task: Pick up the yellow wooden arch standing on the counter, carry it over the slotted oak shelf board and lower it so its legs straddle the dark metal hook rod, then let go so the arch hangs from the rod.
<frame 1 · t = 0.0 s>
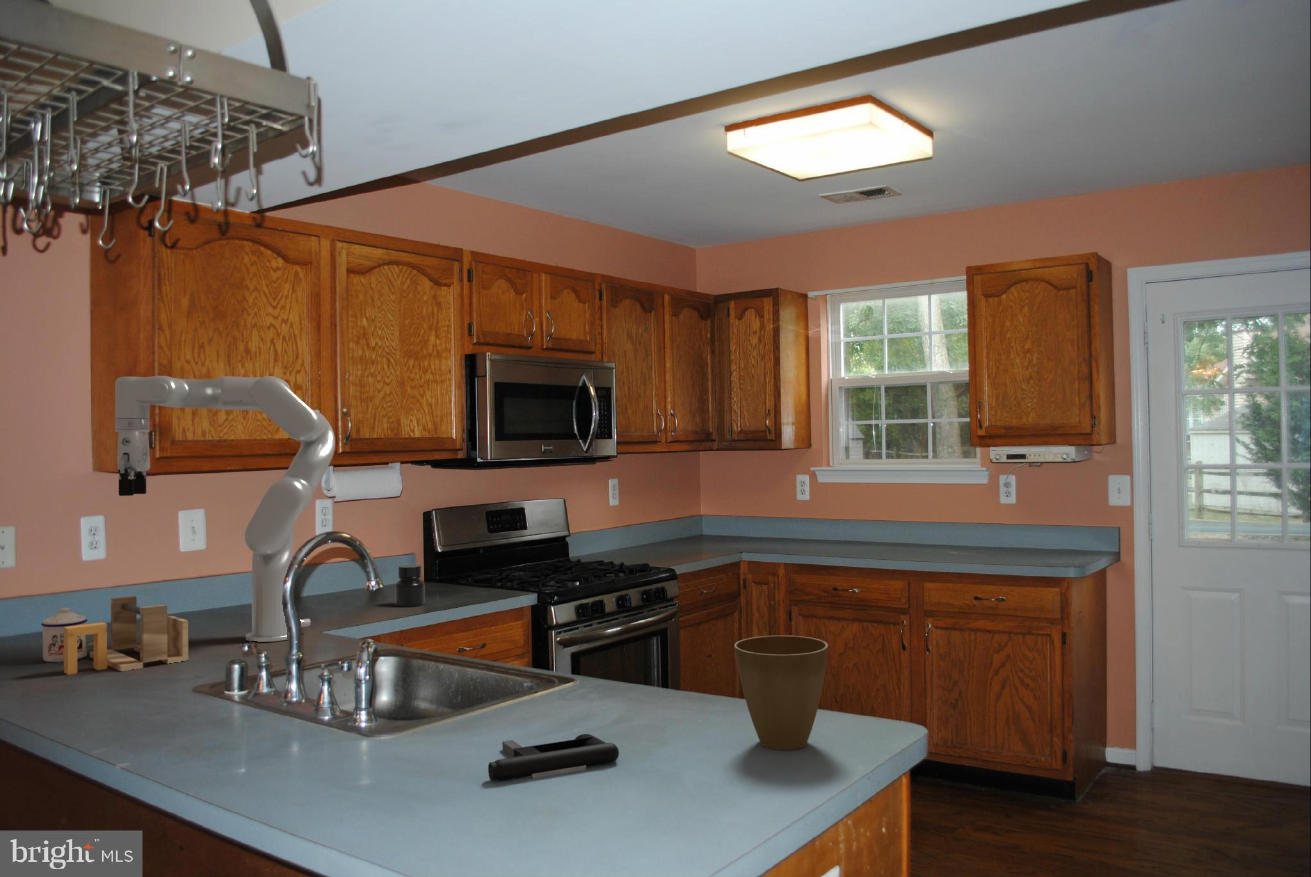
hand: (132, 494, 239), 37 cm above the countertop, tool pointing down, fingers open, 9 cm apart
plant pot: (781, 744, 153), on the countertop
door handle: (544, 764, 146), on the countertop
ink bottle: (410, 605, 296), on the countertop
teacup with lid: (72, 657, 224), on the countertop
hook shelf: (138, 658, 221), on the countertop
yellow wooden arch: (85, 670, 210), on the countertop
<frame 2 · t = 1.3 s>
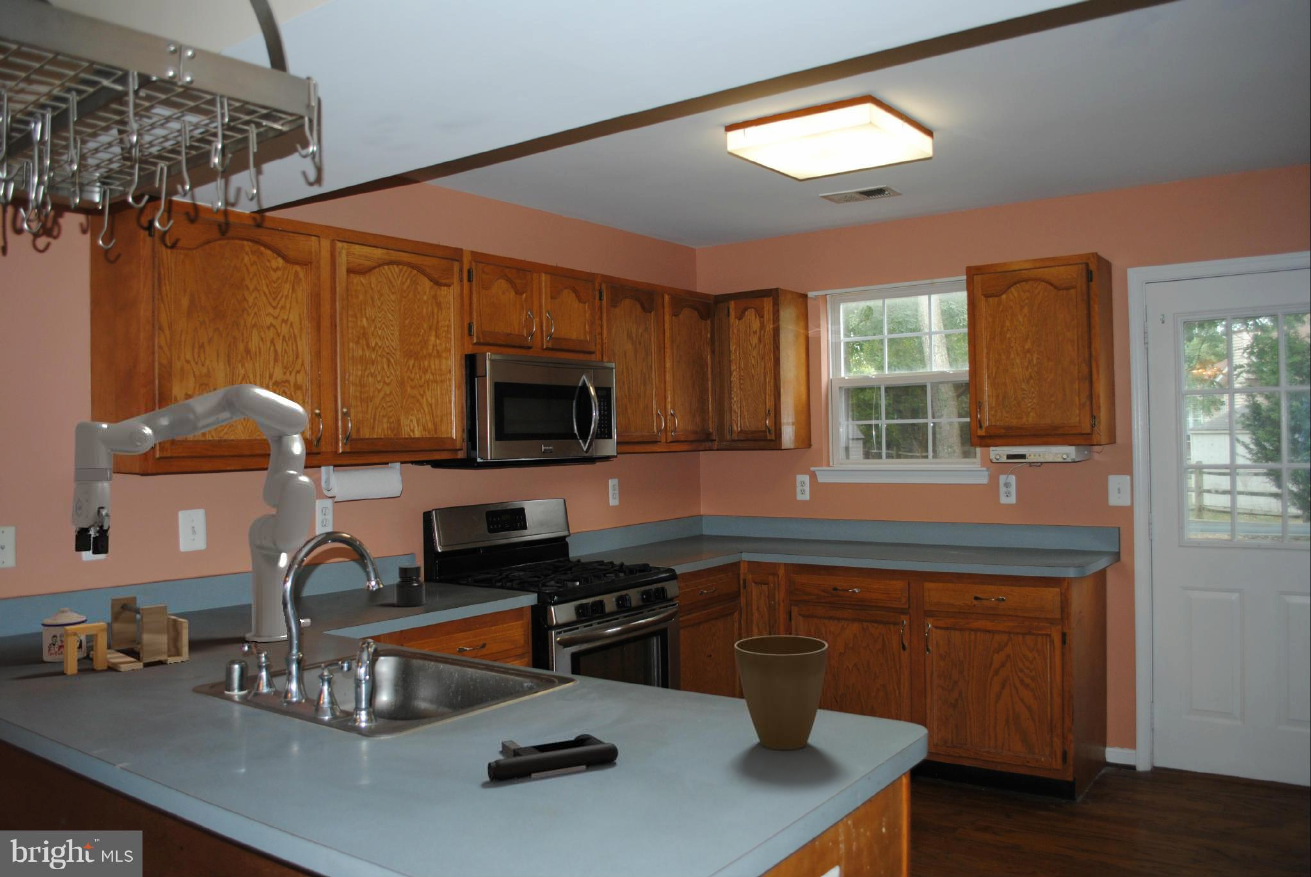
hand: (91, 552, 215), 25 cm above the countertop, tool pointing down, fingers open, 9 cm apart
nothing on the countertop moved.
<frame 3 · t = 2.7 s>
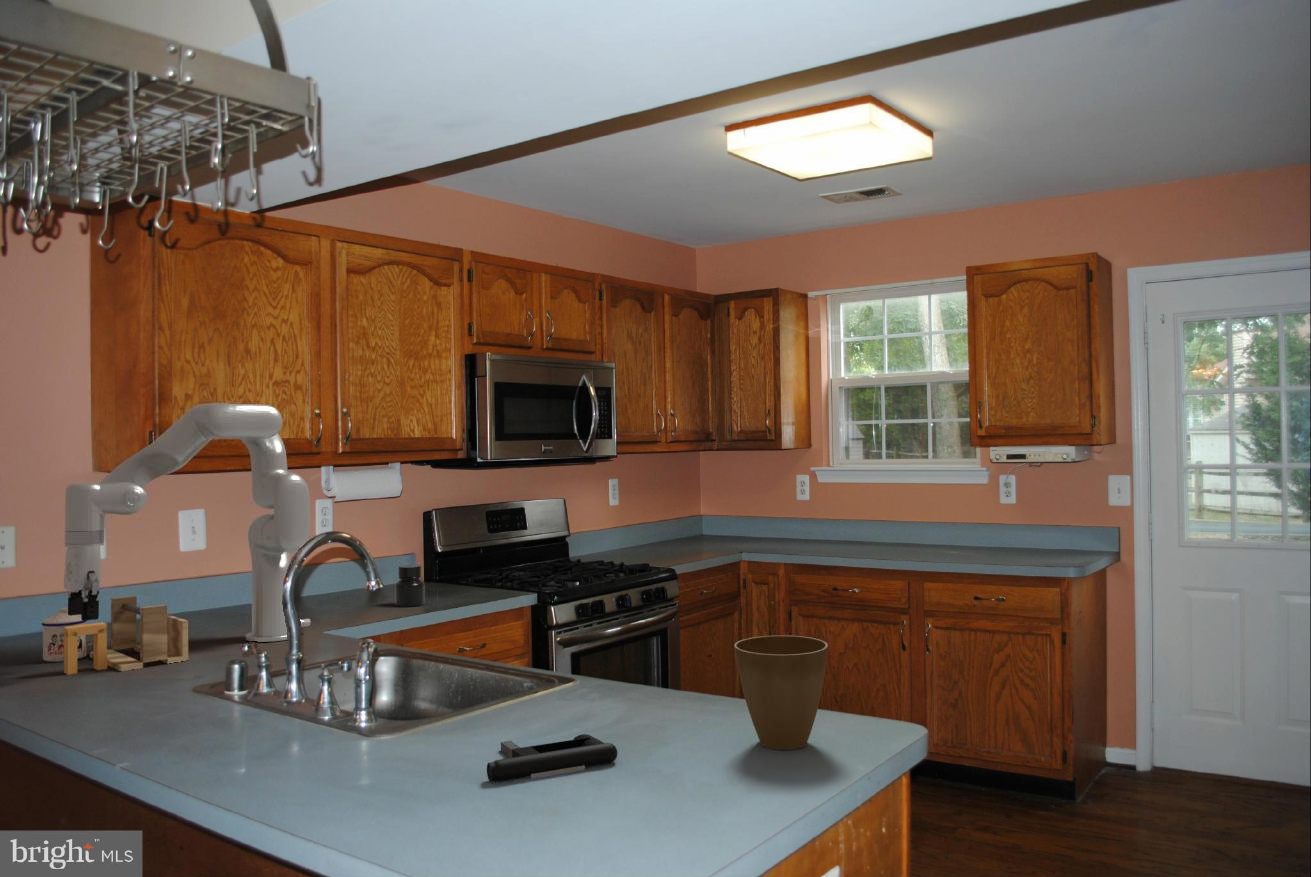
hand: (83, 617, 210), 12 cm above the countertop, tool pointing down, fingers open, 9 cm apart
nothing on the countertop moved.
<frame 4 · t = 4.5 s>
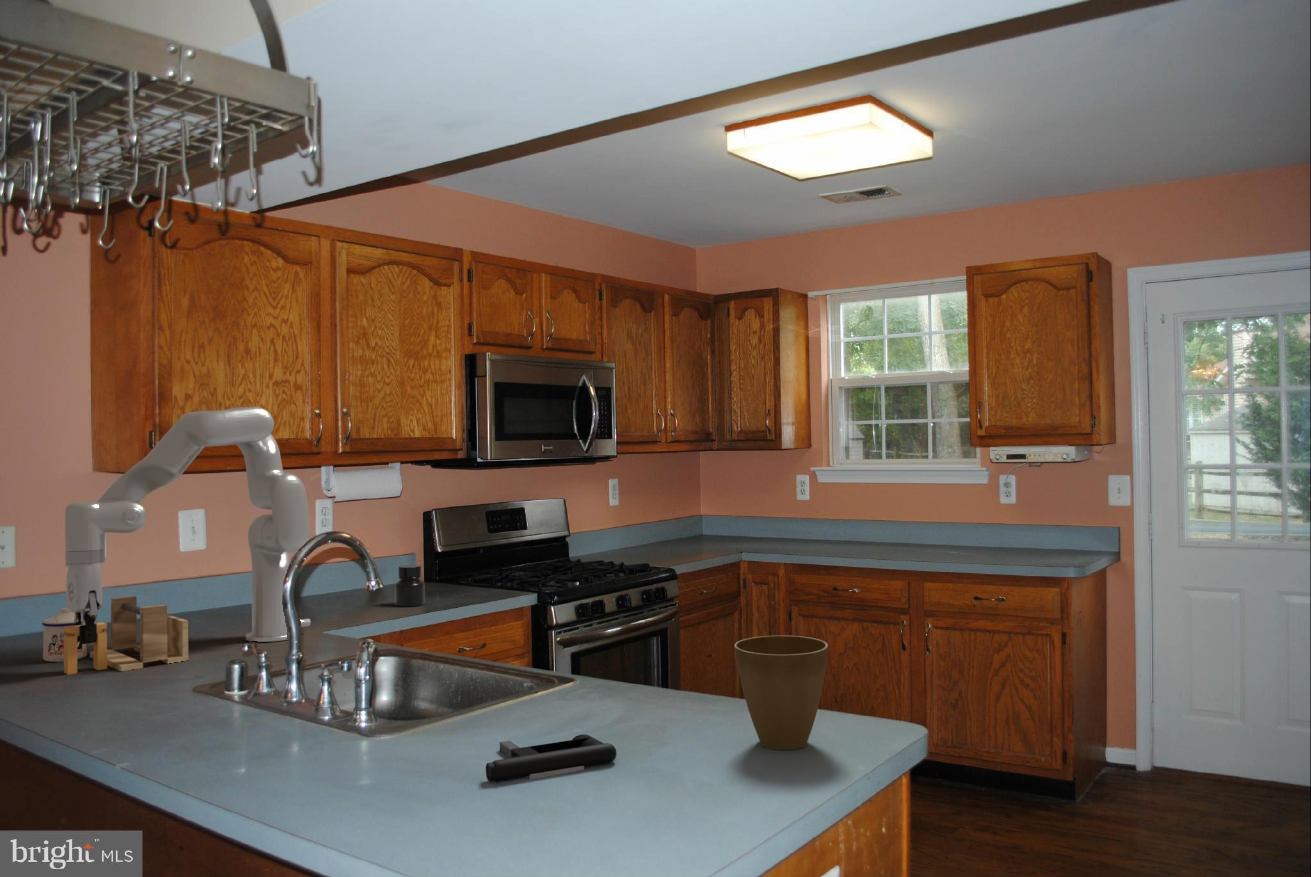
hand: (85, 641, 210), 6 cm above the countertop, tool pointing down, fingers closed on yellow wooden arch, 3 cm apart
yellow wooden arch: (85, 670, 210), on the countertop, touching gripper
everything else where it was.
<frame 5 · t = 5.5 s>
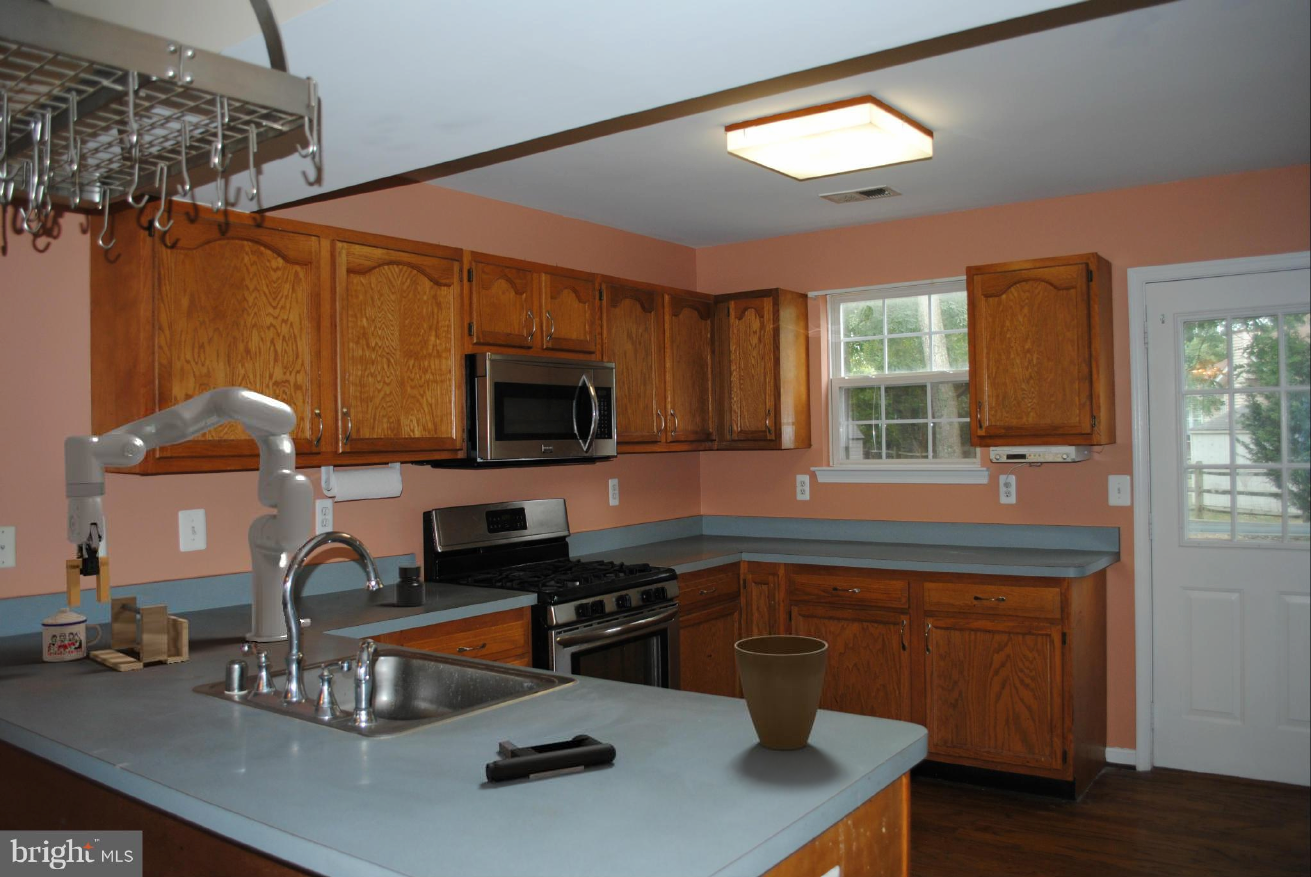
hand: (88, 574, 211), 21 cm above the countertop, tool pointing down, fingers closed on yellow wooden arch, 3 cm apart
yellow wooden arch: (88, 603, 211), point 15 cm above the countertop, touching gripper
everything else where it was.
when the fingers open (13 cm above the countertop, at t = 9.5 s): yellow wooden arch drops 2 cm, resting on hook shelf.
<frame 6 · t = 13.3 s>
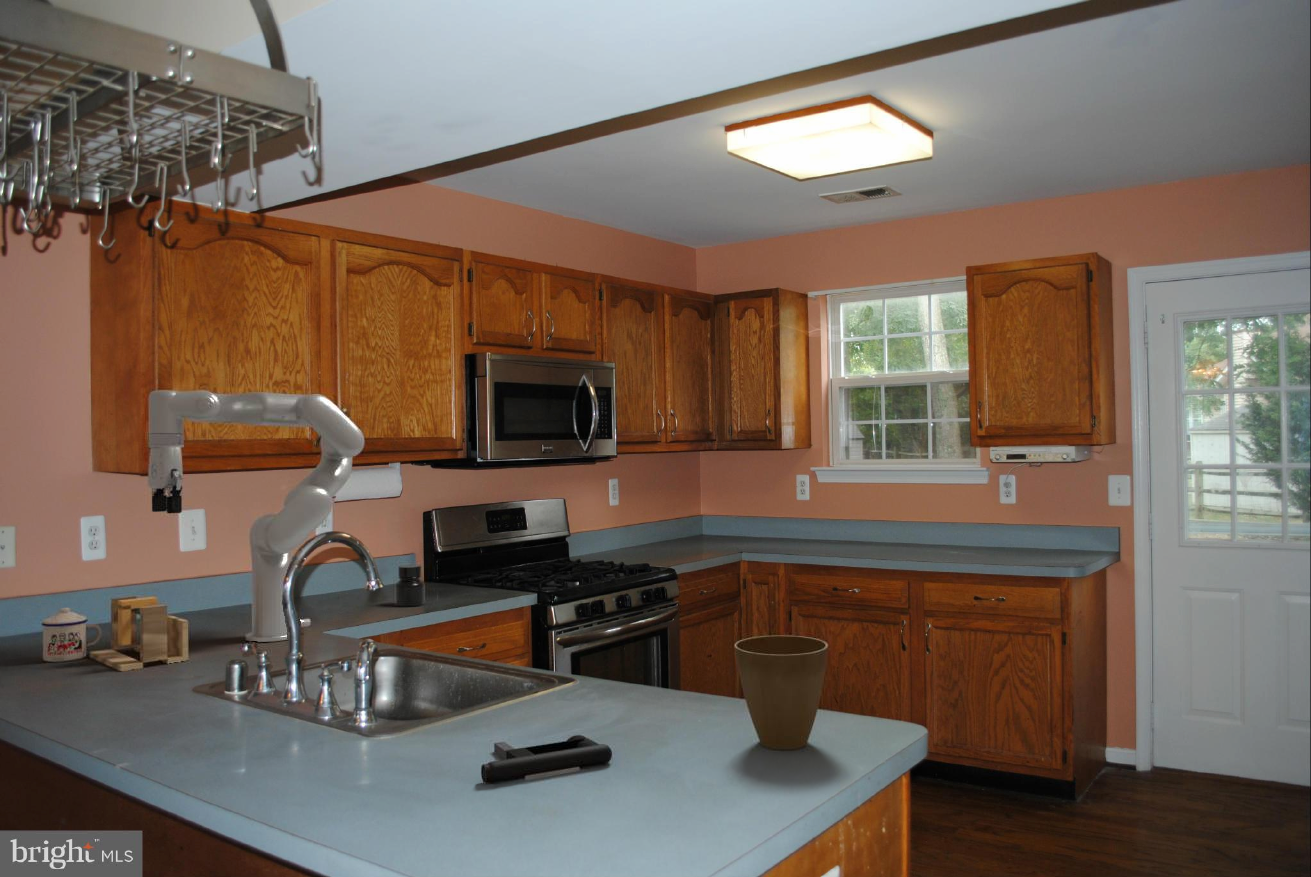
hand: (166, 512, 231), 33 cm above the countertop, tool pointing down, fingers open, 9 cm apart
yellow wooden arch: (138, 642, 221), point 4 cm above the countertop, touching hook shelf
at the end: yellow wooden arch inside the target area on the hook shelf (0.1 cm from its centre), point 3.9 cm above the hook shelf's base; yellow wooden arch touching hook shelf; the gripper is holding nothing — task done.
